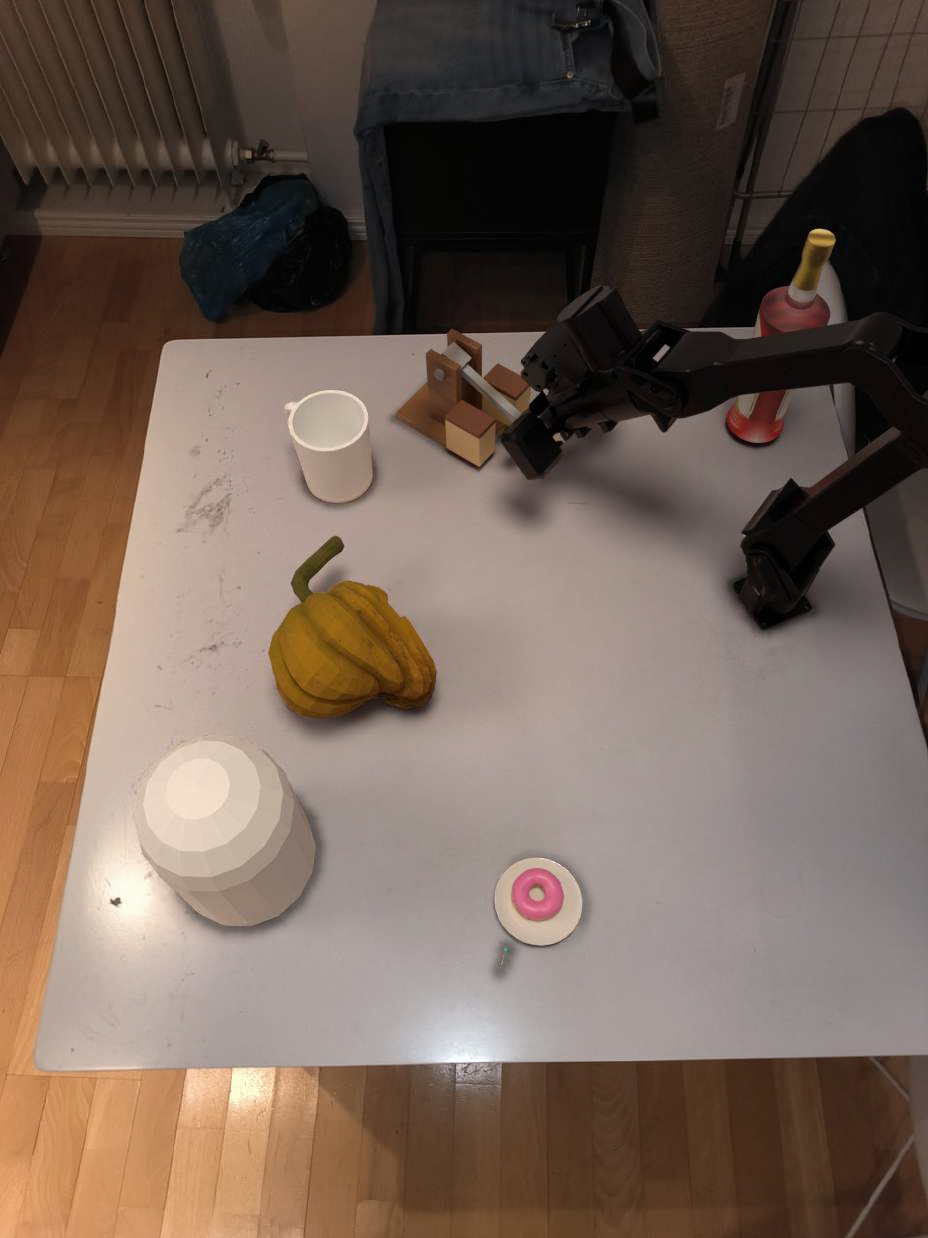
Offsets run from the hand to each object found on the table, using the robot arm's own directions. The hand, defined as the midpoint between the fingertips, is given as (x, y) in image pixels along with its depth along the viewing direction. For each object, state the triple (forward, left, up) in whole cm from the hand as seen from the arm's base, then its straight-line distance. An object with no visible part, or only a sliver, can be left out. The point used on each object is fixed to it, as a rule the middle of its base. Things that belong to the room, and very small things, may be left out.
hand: (523, 417), depth 112 cm
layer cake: (+2, -4, -6) cm, 7 cm away
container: (+45, +35, -7) cm, 57 cm away
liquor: (-28, +8, -7) cm, 30 cm away
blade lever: (+3, -5, 0) cm, 6 cm away
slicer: (+5, -9, -7) cm, 12 cm away
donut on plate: (+22, +51, -7) cm, 56 cm away
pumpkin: (+29, +20, -7) cm, 36 cm away
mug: (+22, -6, -7) cm, 24 cm away
